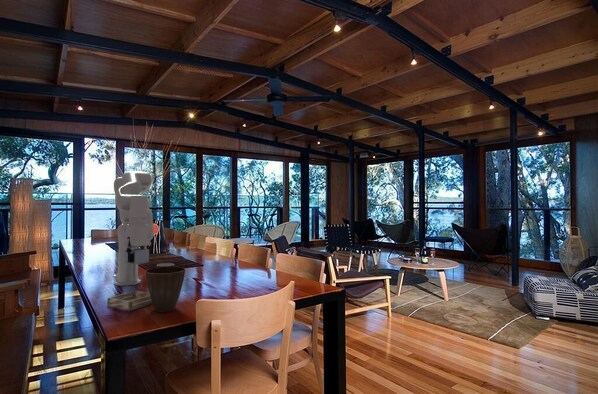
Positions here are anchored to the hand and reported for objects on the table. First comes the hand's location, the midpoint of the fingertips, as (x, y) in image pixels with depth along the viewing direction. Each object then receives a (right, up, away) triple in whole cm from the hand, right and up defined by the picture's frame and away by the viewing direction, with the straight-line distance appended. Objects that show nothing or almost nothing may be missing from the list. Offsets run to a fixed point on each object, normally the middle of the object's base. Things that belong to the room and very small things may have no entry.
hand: (136, 260), depth 153 cm
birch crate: (+4, -16, -13) cm, 21 cm away
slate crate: (0, -1, 0) cm, 1 cm away
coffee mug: (+2, -17, +25) cm, 30 cm away
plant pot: (+20, -16, -18) cm, 31 cm away
